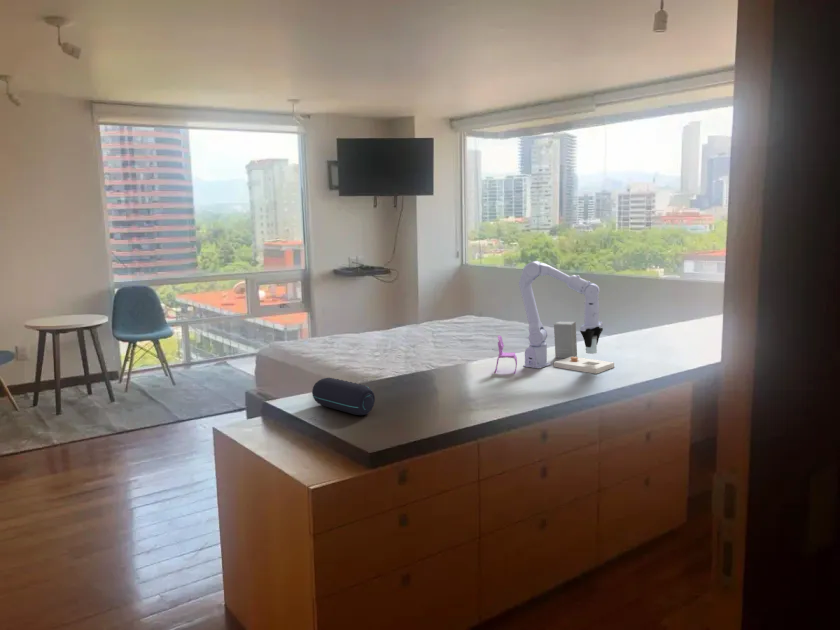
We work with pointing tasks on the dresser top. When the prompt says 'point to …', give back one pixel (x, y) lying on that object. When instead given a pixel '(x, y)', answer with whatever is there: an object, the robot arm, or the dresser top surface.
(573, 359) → the tan round piece
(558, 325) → the skincare box
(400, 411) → the dresser top surface
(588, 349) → the cup
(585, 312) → the robot arm
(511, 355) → the toy chair
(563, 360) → the housing
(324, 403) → the portable speaker
